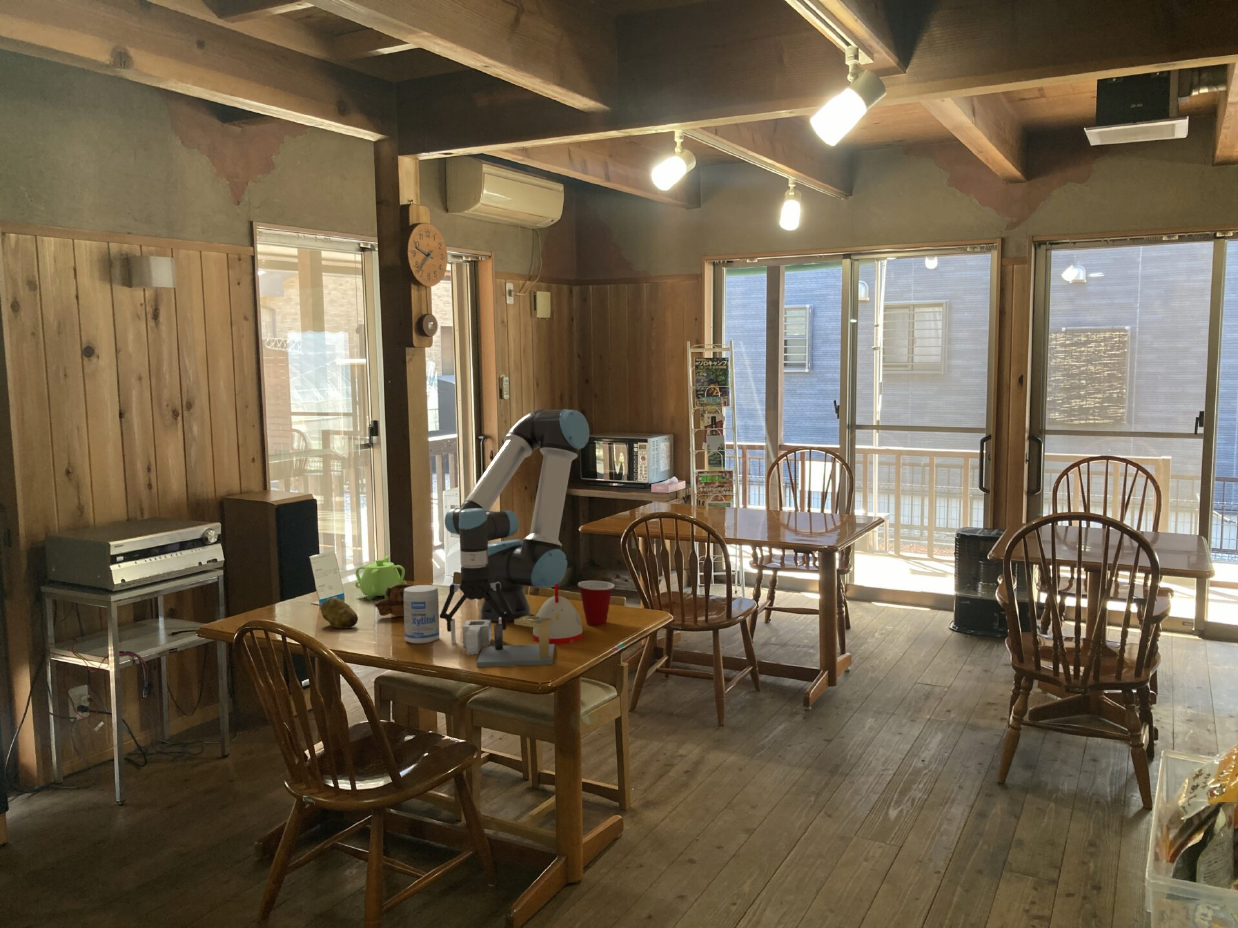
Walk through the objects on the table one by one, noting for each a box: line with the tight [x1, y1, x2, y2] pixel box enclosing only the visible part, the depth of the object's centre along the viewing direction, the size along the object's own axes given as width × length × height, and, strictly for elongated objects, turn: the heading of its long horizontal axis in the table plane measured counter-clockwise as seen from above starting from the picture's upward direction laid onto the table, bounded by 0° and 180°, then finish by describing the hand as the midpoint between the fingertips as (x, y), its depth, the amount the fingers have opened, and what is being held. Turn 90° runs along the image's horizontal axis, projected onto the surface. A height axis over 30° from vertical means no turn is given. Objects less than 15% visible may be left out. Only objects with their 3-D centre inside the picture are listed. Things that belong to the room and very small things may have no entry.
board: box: [476, 644, 556, 668], centre depth 249 cm, size 14×19×1 cm
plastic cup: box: [577, 580, 615, 627], centre depth 281 cm, size 11×11×12 cm
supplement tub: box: [403, 584, 440, 644], centre depth 268 cm, size 10×10×15 cm
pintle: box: [493, 623, 504, 650], centre depth 253 cm, size 2×2×6 cm
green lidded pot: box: [354, 554, 408, 601], centre depth 325 cm, size 16×14×13 cm
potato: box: [320, 597, 359, 629], centre depth 285 cm, size 8×13×8 cm, turn 36°
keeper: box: [513, 615, 553, 658], centre depth 246 cm, size 5×9×9 cm, turn 56°
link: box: [462, 619, 493, 656], centre depth 260 cm, size 15×7×6 cm, turn 1°
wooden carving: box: [374, 583, 417, 617], centre depth 296 cm, size 16×5×10 cm, turn 116°
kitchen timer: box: [532, 583, 584, 645], centre depth 267 cm, size 14×14×15 cm
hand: (477, 642), depth 264 cm, fingers open, 12 cm apart
